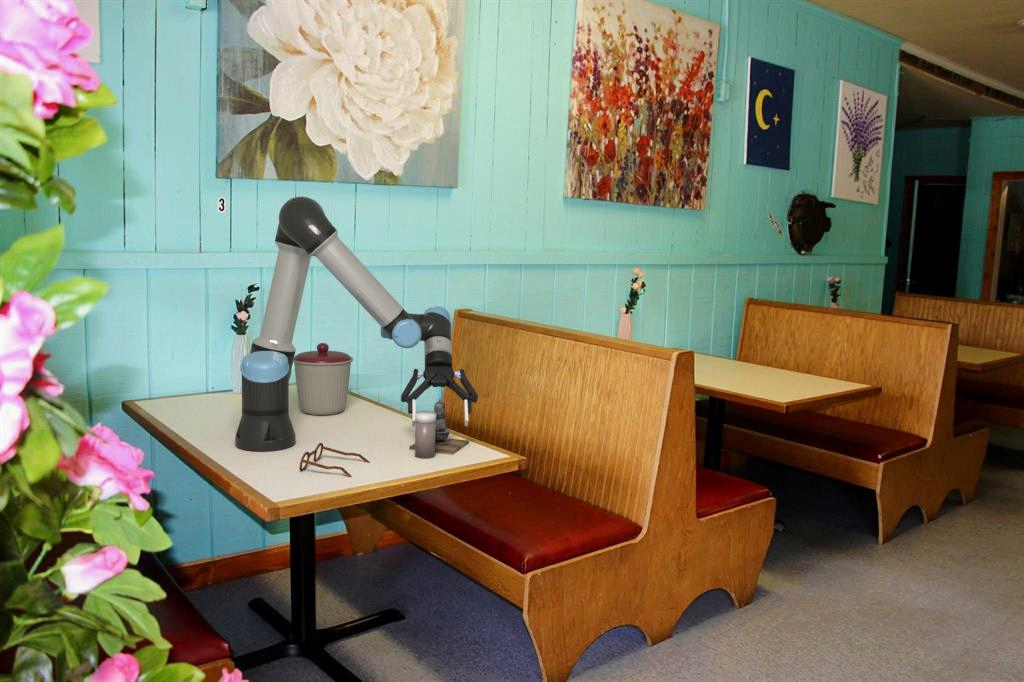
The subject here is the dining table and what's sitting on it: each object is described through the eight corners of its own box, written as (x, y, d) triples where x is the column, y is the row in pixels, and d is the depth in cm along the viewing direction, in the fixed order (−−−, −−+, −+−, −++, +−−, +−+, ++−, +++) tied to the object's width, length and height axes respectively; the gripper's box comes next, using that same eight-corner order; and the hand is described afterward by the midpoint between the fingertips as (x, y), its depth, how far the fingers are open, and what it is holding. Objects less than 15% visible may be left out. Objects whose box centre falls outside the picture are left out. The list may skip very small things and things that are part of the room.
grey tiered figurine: (438, 439, 238) (439, 395, 236) (454, 443, 234) (455, 398, 232) (423, 443, 233) (423, 398, 231) (439, 447, 229) (440, 401, 228)
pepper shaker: (430, 459, 221) (431, 416, 219) (411, 457, 222) (412, 414, 221) (438, 454, 226) (439, 412, 224) (419, 452, 227) (420, 410, 226)
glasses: (319, 460, 219) (319, 440, 218) (370, 464, 217) (370, 444, 216) (298, 475, 206) (297, 454, 206) (351, 479, 204) (351, 458, 203)
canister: (358, 406, 278) (358, 339, 275) (346, 419, 260) (346, 348, 257) (300, 404, 278) (300, 337, 275) (284, 417, 260) (284, 346, 257)
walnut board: (452, 454, 226) (452, 451, 226) (409, 449, 230) (409, 446, 229) (468, 443, 238) (468, 440, 237) (427, 438, 241) (427, 435, 241)
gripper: (392, 348, 238) (392, 415, 226) (485, 349, 242) (489, 415, 229) (392, 364, 244) (391, 431, 232) (482, 365, 248) (486, 430, 235)
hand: (440, 423), depth 230 cm, fingers open, 13 cm apart
